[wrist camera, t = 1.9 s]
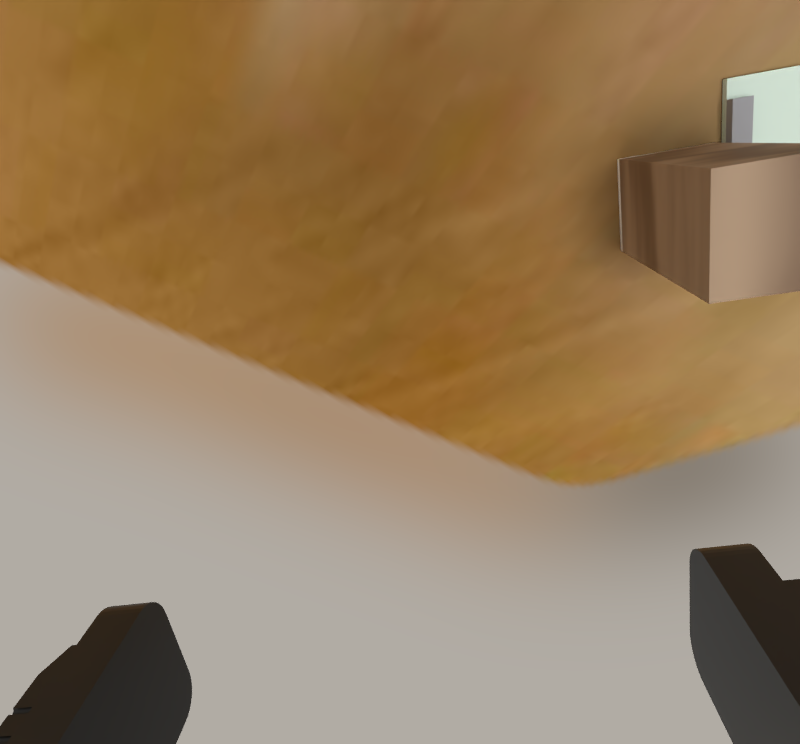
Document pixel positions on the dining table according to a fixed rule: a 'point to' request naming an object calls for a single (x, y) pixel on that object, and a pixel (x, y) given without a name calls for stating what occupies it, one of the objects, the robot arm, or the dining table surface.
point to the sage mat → (762, 107)
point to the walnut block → (715, 217)
